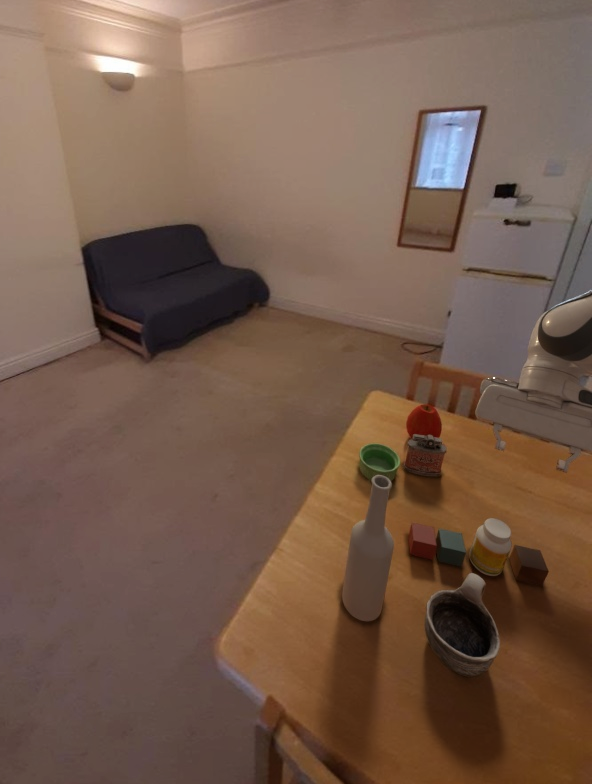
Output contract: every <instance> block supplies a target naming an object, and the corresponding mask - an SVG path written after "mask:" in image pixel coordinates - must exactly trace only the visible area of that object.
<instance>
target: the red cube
mask: <svg viewBox="0 0 592 784" xmlns="http://www.w3.org/2000/svg"><path fill="white" fill-rule="evenodd" d="M436 537H437V536H436V532H435V527H433V526H430V525H426V524H420V523H417V522H411V523H410V527H409V532H408V546H409V554H410V555H411V556H414V557H420V558H423V559H428V560H434V558H435V555H436V547H437V543H436Z"/></svg>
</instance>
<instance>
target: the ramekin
mask: <svg viewBox="0 0 592 784" xmlns="http://www.w3.org/2000/svg"><path fill="white" fill-rule="evenodd" d="M358 456H359V457H358V458H359V470H360V473H362V475H363V476H364V477H365V478H366V479H368V480H369V481H372V478H373V477H374V476H376V475H382V476H385V477H387V478H388V479H389V480H390V481H391V482H392V481H393V480H395V477H396V476H397V472H398V469H399V468H400V464H401V459H400V456H399V454H398V453H397V452H396V451H395V450H394V448H391V447H390V446H388V445H385V444H382V443H376V442H374V443H368V444H365V445H362V447H361V448H360V449H359V452H358Z"/></svg>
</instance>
